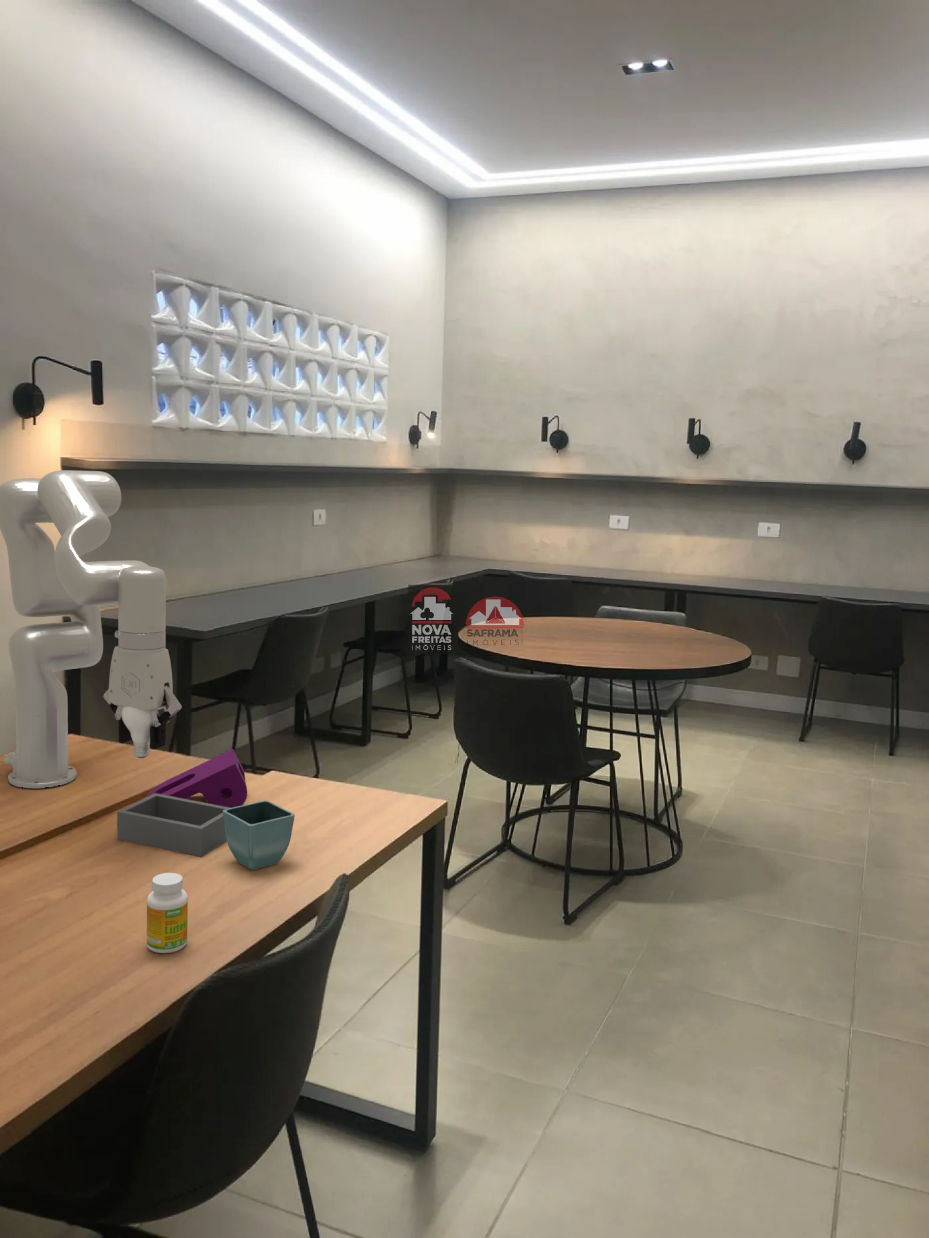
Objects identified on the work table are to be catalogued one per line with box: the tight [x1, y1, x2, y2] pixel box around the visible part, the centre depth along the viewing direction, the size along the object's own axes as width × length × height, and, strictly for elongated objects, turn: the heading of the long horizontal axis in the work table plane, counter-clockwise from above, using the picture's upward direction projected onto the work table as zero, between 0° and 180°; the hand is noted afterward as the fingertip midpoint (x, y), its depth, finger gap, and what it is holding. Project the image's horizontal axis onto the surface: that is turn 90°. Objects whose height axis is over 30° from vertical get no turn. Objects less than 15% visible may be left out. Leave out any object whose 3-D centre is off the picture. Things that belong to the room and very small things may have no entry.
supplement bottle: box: [146, 872, 189, 954], centre depth 134 cm, size 5×5×10 cm
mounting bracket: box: [145, 748, 248, 808], centre depth 187 cm, size 9×8×18 cm
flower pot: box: [223, 799, 296, 871], centre depth 162 cm, size 9×9×9 cm
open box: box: [116, 793, 229, 858], centre depth 171 cm, size 17×10×5 cm, turn 71°
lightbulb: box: [122, 707, 160, 759], centre depth 165 cm, size 6×6×11 cm
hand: (142, 743), depth 166 cm, fingers closed on lightbulb, 5 cm apart
